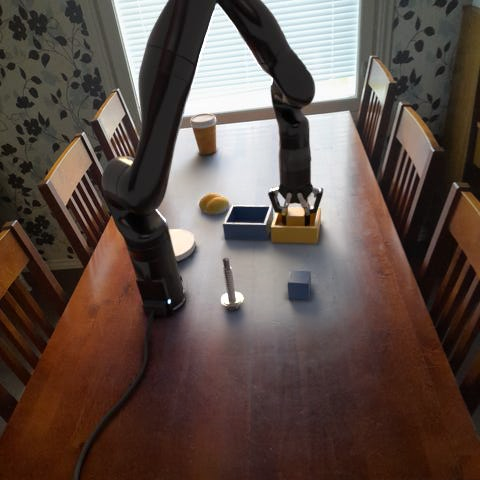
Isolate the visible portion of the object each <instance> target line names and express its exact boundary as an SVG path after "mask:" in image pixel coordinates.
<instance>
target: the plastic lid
mask: <svg viewBox="0 0 480 480" xmlns="http://www.w3.org/2000/svg"><path fill="white" fill-rule="evenodd" d="M169 232H170V236H171V240H172V244H173V248H174V253H175V257H176V261H177V262H179V261H182V260H184V259H186V258H188V257H189V256H190V255H192V253H193V252H194V251H195V249H196V247H197V246H196V245H197V244H196V238H195V236H194V233H191V232H190V231H188V230H185V229H179V228H177V229H176V228H172V229H169Z"/></svg>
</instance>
